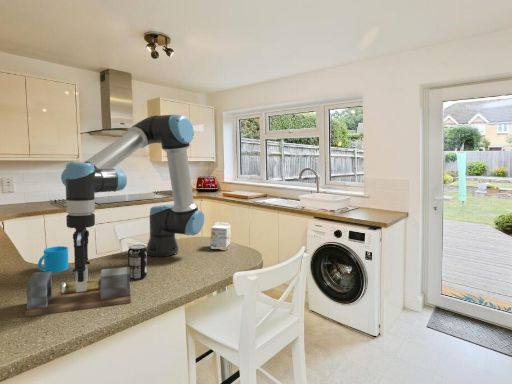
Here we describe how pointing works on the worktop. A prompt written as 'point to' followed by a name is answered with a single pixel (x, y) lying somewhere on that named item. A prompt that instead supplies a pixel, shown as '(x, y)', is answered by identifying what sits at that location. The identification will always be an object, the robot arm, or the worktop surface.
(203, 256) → the worktop surface
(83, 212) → the robot arm
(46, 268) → the mug
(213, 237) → the ink box
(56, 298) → the rig
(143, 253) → the beverage can
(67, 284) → the tube
